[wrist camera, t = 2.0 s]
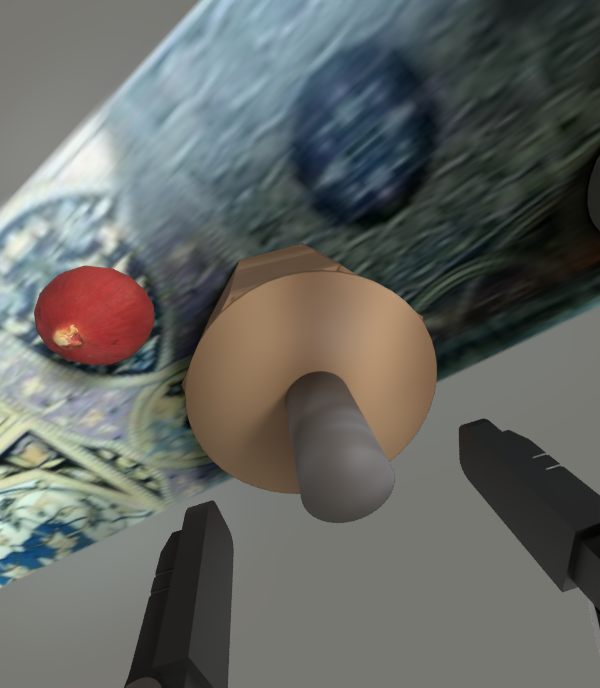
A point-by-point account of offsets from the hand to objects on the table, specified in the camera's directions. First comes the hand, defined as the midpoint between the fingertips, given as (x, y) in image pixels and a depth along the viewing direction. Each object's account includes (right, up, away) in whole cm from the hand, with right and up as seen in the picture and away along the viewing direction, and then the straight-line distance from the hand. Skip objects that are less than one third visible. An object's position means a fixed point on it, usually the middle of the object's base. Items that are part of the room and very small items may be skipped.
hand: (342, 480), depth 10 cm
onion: (-14, +7, +12) cm, 20 cm away
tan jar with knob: (-2, +6, +14) cm, 16 cm away
